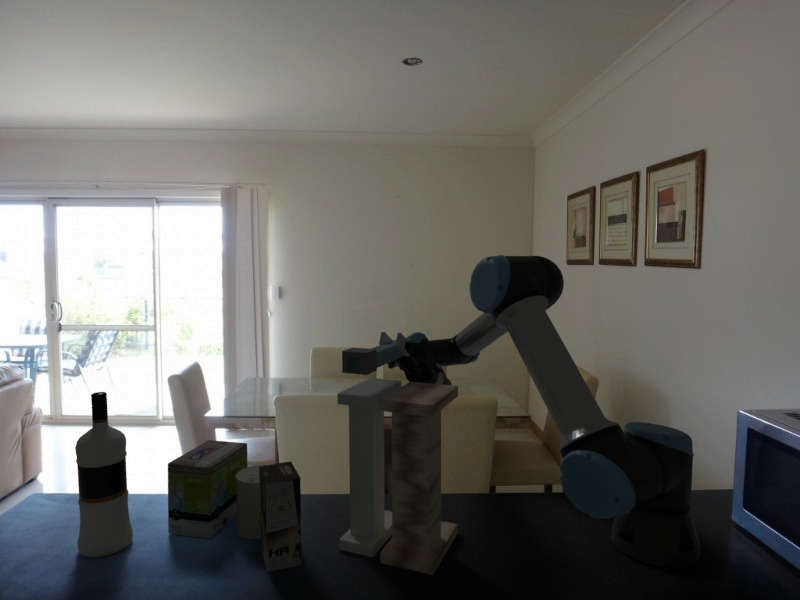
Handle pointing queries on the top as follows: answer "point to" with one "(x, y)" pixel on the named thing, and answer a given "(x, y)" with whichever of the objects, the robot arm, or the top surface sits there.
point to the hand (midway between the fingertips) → (390, 338)
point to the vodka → (102, 486)
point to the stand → (367, 467)
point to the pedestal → (417, 477)
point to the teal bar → (370, 358)
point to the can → (248, 503)
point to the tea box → (204, 488)
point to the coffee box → (280, 515)
